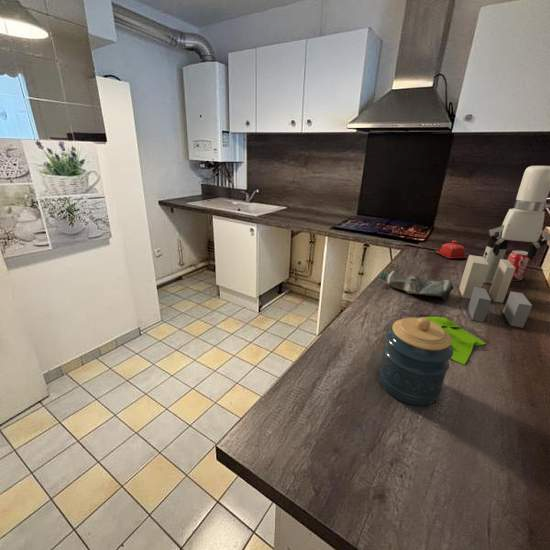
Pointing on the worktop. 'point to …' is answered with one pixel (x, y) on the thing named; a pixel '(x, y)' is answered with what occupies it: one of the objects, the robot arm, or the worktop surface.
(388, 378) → the canister
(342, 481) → the worktop surface
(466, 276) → the beige rectangular block
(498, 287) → the cream book
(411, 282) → the crushed plastic bottle
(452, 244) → the butter dish
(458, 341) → the cloth
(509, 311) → the pair of grey pillars
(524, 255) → the soda can
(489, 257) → the spray can
